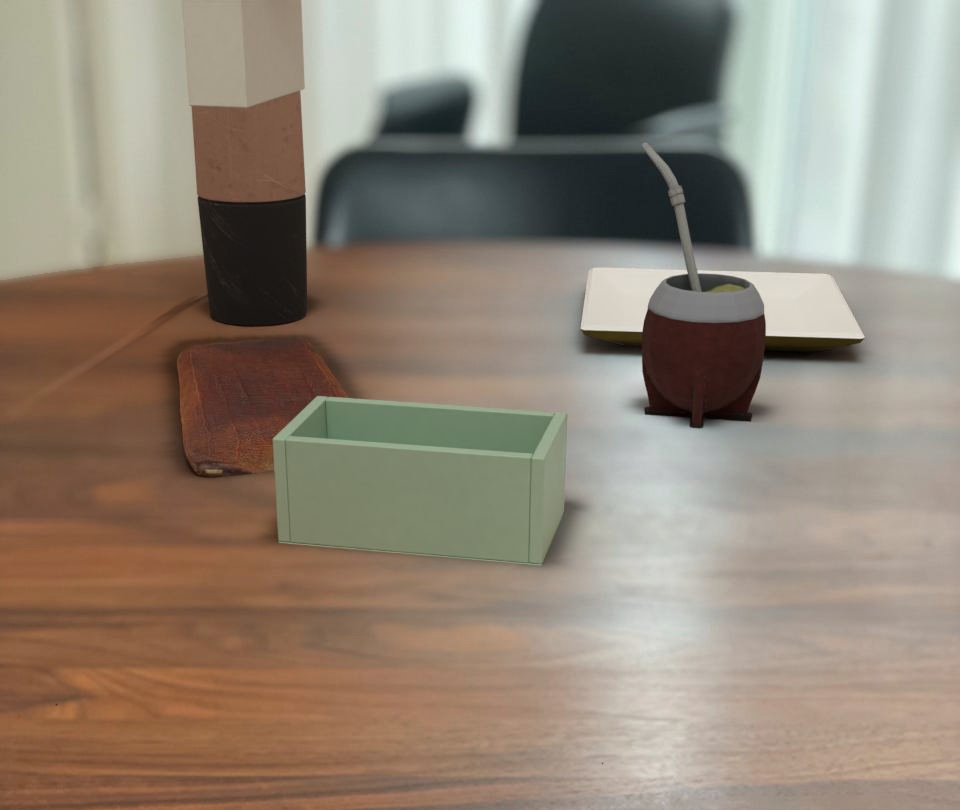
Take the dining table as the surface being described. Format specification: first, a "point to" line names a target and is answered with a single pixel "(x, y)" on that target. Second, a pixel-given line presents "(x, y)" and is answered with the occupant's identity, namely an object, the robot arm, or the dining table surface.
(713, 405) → the mate gourd
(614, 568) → the dining table surface
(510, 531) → the bin
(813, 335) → the plate
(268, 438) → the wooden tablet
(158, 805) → the dining table surface
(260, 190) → the travel mug
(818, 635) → the dining table surface
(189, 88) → the rectangular block
